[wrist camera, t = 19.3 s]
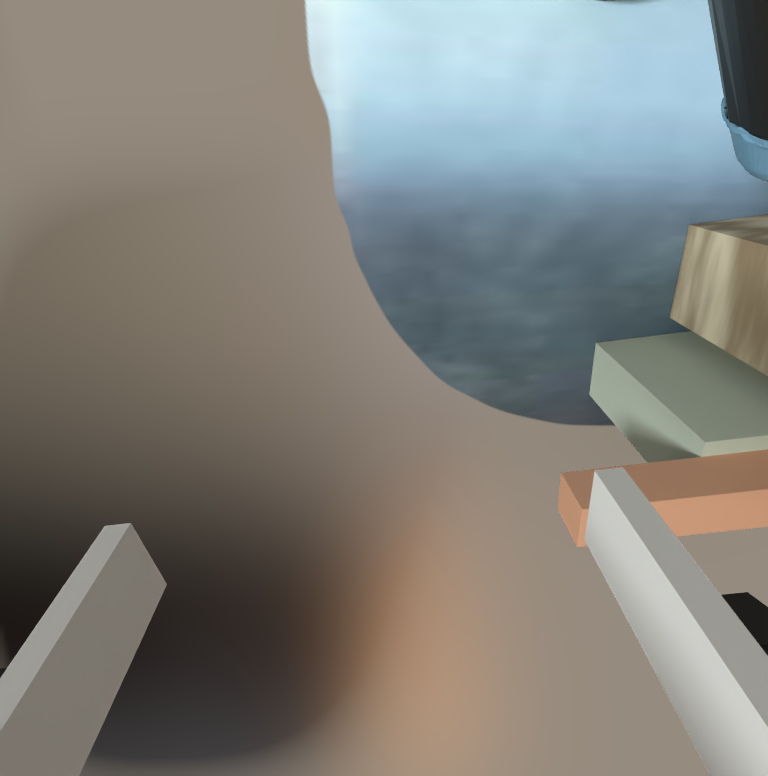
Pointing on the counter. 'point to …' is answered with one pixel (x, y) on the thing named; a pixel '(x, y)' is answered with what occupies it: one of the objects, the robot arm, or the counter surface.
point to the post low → (680, 396)
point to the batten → (684, 493)
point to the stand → (727, 287)
